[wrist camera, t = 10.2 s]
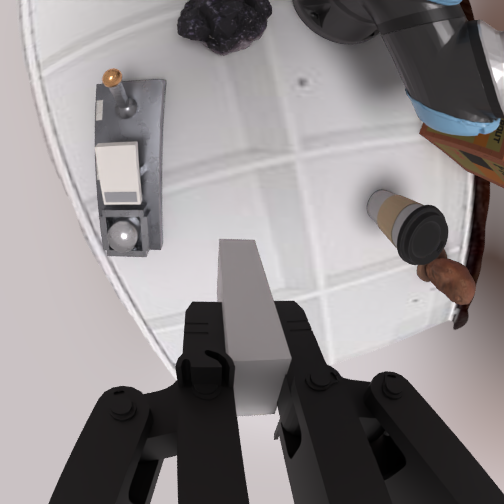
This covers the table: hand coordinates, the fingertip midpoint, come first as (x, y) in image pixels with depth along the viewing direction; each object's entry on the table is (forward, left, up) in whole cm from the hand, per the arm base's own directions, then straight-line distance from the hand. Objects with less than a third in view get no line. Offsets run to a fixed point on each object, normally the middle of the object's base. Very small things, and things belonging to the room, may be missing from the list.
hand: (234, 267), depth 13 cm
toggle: (-7, -14, -29) cm, 33 cm away
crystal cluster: (-22, -1, -33) cm, 39 cm away
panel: (+2, -14, -32) cm, 35 cm away
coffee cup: (+6, +29, -33) cm, 44 cm away
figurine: (+18, +48, -33) cm, 61 cm away
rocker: (+2, -14, -27) cm, 30 cm away
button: (+11, -14, -29) cm, 34 cm away
